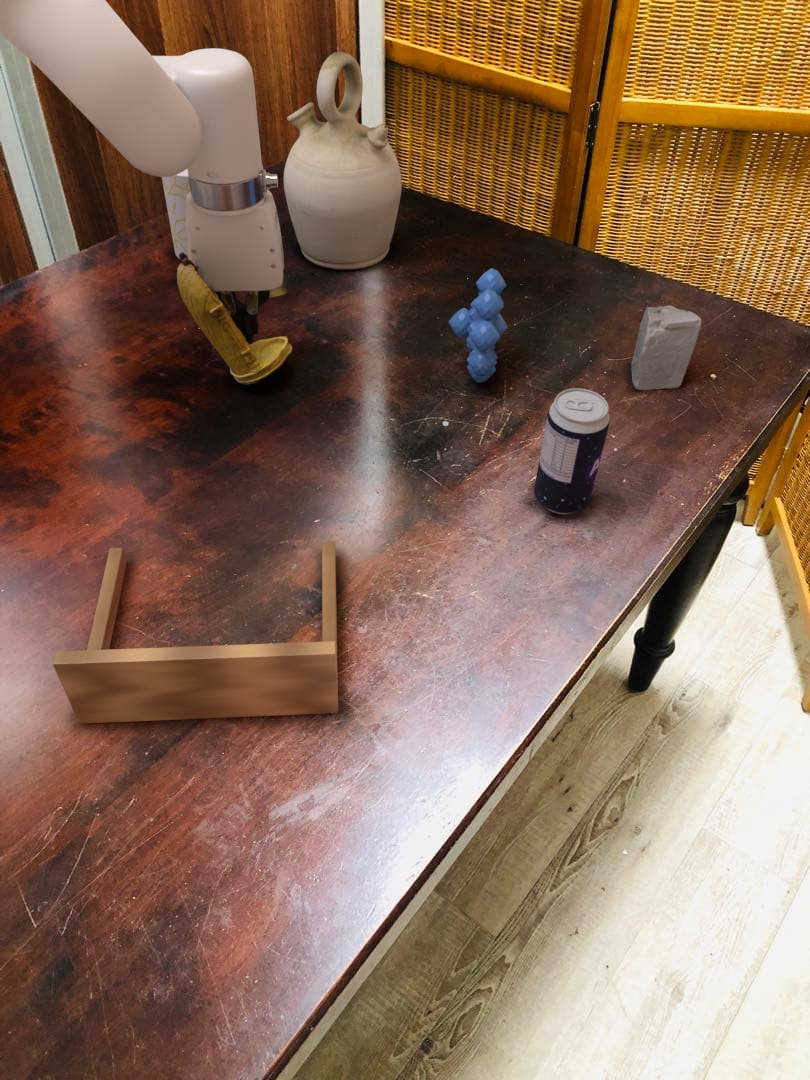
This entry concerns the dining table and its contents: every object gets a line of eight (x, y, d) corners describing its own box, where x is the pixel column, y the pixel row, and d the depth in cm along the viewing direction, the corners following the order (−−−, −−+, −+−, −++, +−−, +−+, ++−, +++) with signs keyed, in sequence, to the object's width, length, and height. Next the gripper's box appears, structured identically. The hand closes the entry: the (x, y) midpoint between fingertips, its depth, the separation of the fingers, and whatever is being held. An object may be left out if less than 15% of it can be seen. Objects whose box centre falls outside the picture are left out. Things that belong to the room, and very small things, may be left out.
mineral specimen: (707, 378, 102) (714, 323, 96) (638, 402, 102) (641, 348, 96) (676, 341, 107) (681, 287, 101) (610, 364, 107) (611, 311, 100)
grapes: (450, 337, 108) (457, 246, 99) (505, 343, 108) (517, 252, 99) (439, 394, 100) (446, 300, 91) (499, 400, 100) (511, 307, 91)
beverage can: (588, 523, 86) (612, 428, 78) (530, 515, 87) (548, 419, 78) (590, 484, 90) (613, 389, 82) (534, 477, 91) (552, 382, 82)
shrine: (189, 396, 99) (165, 274, 88) (200, 353, 104) (178, 235, 93) (291, 397, 99) (280, 276, 88) (297, 355, 104) (287, 236, 94)
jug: (266, 246, 122) (248, 49, 104) (351, 212, 130) (348, 24, 112) (336, 290, 115) (330, 87, 97) (422, 252, 122) (431, 57, 104)
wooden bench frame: (79, 724, 69) (52, 664, 64) (114, 562, 81) (94, 499, 75) (338, 713, 71) (335, 653, 65) (335, 555, 82) (333, 493, 77)
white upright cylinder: (162, 252, 120) (145, 164, 112) (204, 229, 125) (191, 143, 116) (206, 270, 117) (192, 182, 109) (246, 246, 122) (237, 160, 113)
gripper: (300, 169, 94) (310, 319, 107) (158, 170, 93) (185, 321, 106) (299, 202, 89) (309, 355, 102) (148, 203, 88) (179, 358, 101)
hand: (246, 337), depth 104 cm, fingers closed
